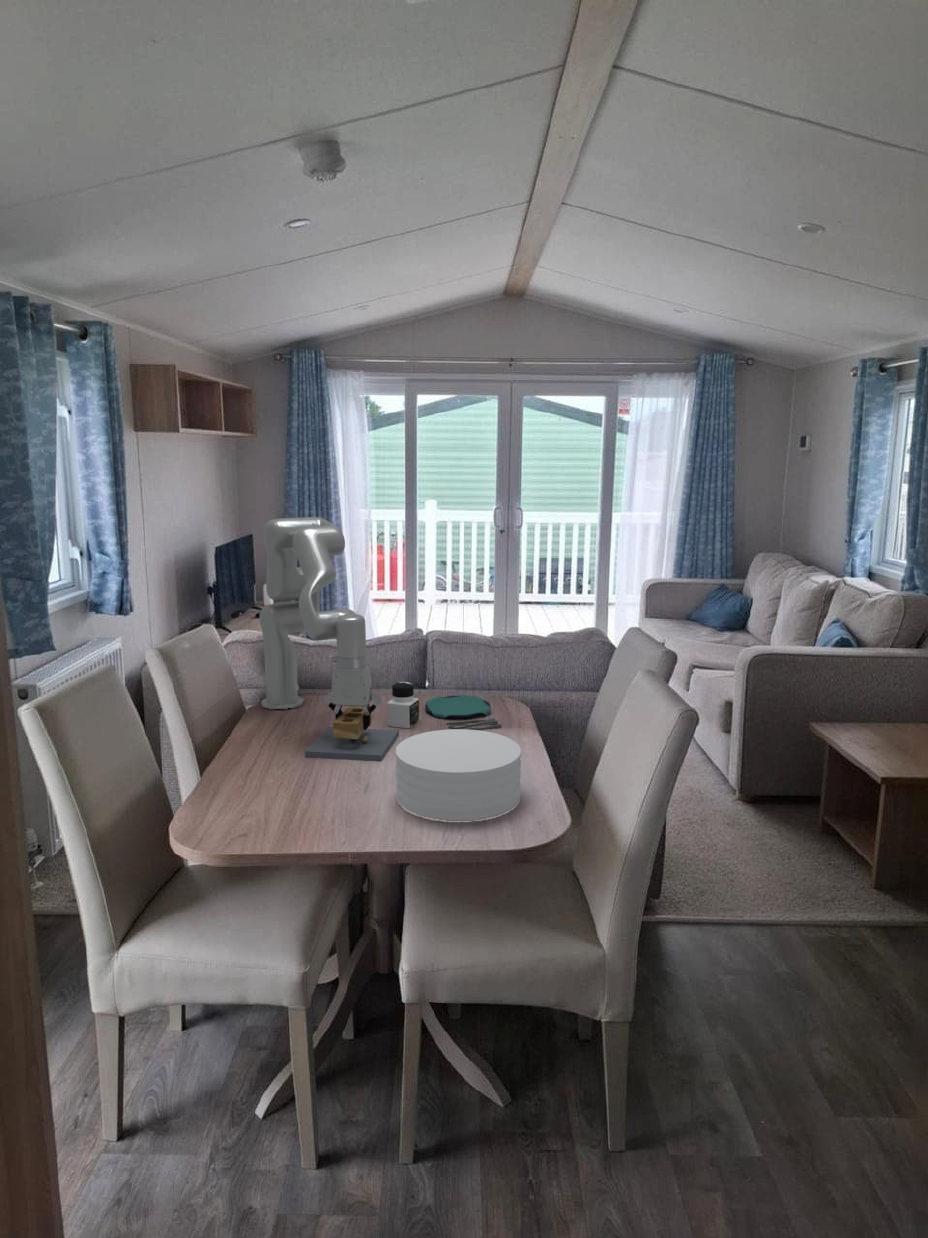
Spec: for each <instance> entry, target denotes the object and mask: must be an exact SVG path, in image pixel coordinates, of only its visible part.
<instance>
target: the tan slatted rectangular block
mask: <svg viewBox="0 0 928 1238" xmlns="http://www.w3.org/2000/svg"><path fill="white" fill-rule="evenodd" d="M342 712H343V713H342V714H341V715H340V716H339V717H338V718H337V719H336V720H335V719H334V722H332V727H333V736H334V738H348V739H358V738H359V737H360V736H361V734H362V733H363V732H364V731H365V730H364V729H363V715H364V711H363V709H362V707H361V706H347V708H346V709H345V710H343V711H342ZM372 717H373V716H372V712H371V713H370V722H371V723H372Z"/></svg>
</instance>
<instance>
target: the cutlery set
mask: <svg viewBox="0 0 928 1238" xmlns="http://www.w3.org/2000/svg"><path fill="white" fill-rule="evenodd" d="M424 708H425V710H426V712H427V711H428V713H430V714H432V715H433V716H434V717H436V718H441V719H445V718H456V719H458V718H460V719H461V718H470V717H471V718H472V717H476V716H481V715H482V714H484V715H485V717H487V716H489V714H490V713H491V703H490V702H488V701H487V700H485V699H483V697H479V696H474V695H465V694H464V695H449V696H448V695H447V696H441V697H438V696H436V697H433V698H431V699H428V700H427V701H425V705H424ZM468 723H469V724H468ZM470 723H471V724H470ZM498 723H499V722H498V720H496V719H495V718H489V719H476V718H475V719H470V720H460V721H449V722H447V723H446V725H448V727H449V728H450V729H467V730H479V731H484V730H492V729H502V724H498ZM490 724H492V725H490ZM480 725H487V726H482V727H475V726H480ZM488 725H489V726H488ZM460 726H461V727H460Z"/></svg>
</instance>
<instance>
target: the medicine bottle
mask: <svg viewBox="0 0 928 1238" xmlns="http://www.w3.org/2000/svg"><path fill="white" fill-rule="evenodd" d="M391 690H392V692H391V693H392V694H391V699H390V700H389V701H387V702H386V723H387V724H386V725H387V727H391V728H401V729H412V728H413V727H414V726H415V725H417V723H419V721H420V699H419V698H418V697H415V696H414V693H415V692H414V685H413V683H411V682H408V681H407V682H406V681H401V682H400V681H399V682H395V683H394V684H392V686H391Z"/></svg>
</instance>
